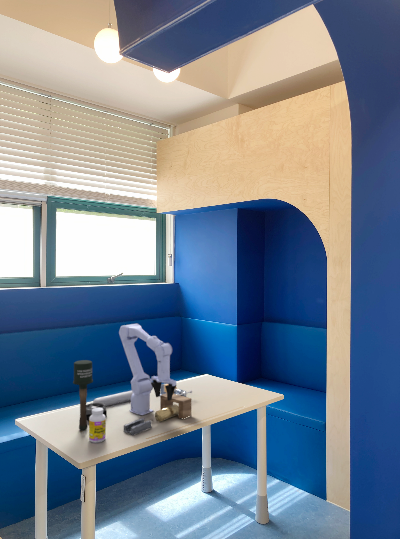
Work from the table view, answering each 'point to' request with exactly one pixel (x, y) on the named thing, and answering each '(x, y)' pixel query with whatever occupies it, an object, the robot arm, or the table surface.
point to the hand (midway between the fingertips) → (163, 398)
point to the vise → (176, 391)
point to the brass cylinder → (167, 412)
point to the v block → (137, 426)
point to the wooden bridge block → (183, 402)
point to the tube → (114, 398)
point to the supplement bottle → (97, 426)
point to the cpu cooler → (94, 405)
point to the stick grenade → (83, 387)
